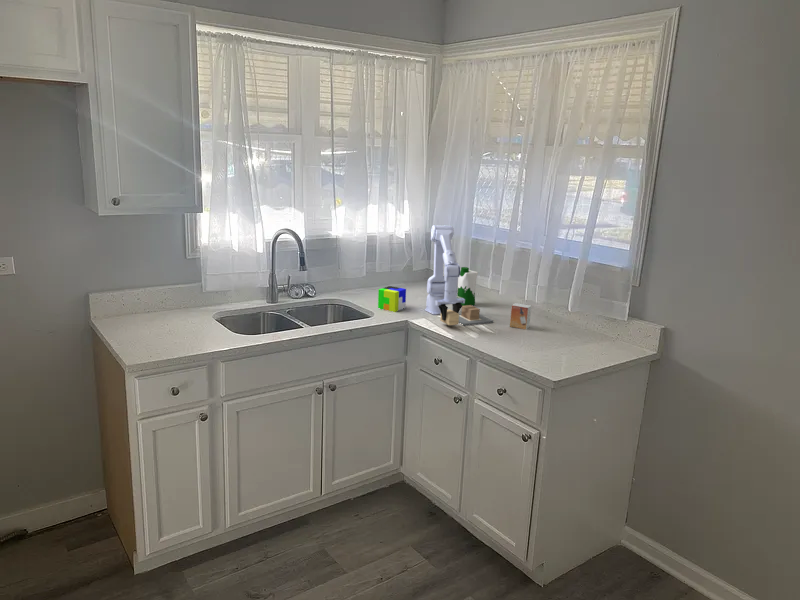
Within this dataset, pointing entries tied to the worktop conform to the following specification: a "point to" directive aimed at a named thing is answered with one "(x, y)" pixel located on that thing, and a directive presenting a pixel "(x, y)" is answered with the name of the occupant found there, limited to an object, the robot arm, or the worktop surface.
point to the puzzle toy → (392, 298)
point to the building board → (479, 321)
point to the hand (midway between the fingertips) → (449, 319)
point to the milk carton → (467, 286)
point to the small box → (520, 316)
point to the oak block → (451, 318)
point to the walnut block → (470, 312)
